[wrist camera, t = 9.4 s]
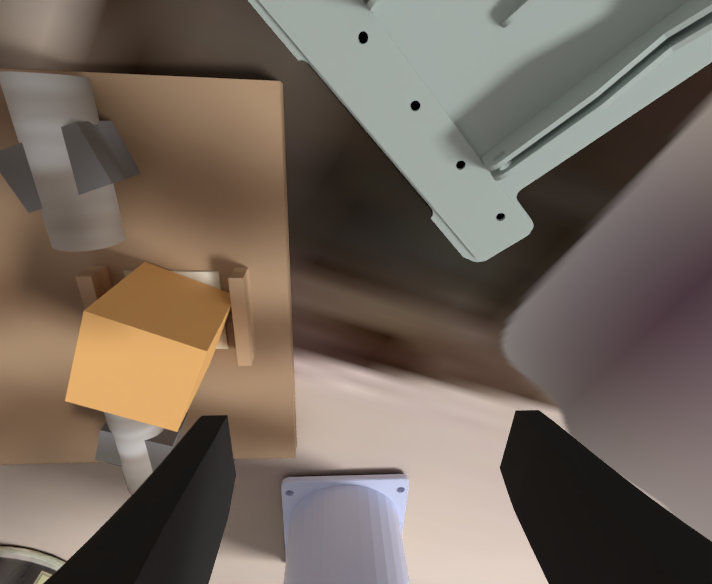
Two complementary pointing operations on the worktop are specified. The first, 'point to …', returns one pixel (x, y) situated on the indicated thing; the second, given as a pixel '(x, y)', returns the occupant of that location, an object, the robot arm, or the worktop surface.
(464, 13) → the metal bracket
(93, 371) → the light orange cube
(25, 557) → the coffee can
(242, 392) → the jig
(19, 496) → the worktop surface
